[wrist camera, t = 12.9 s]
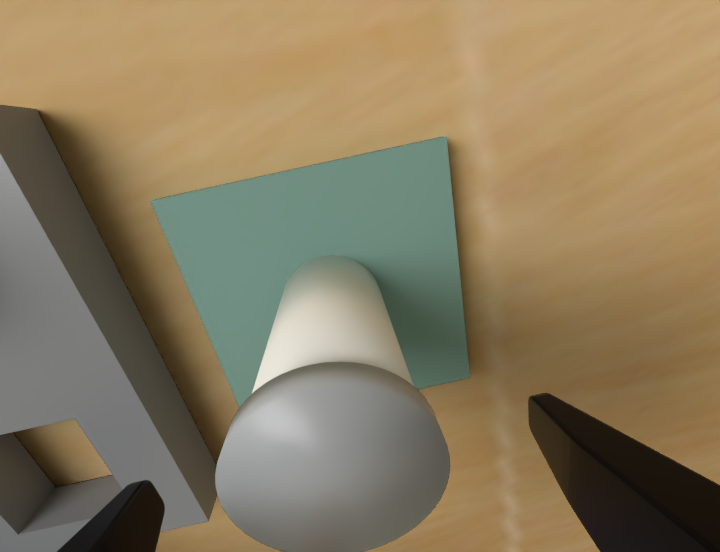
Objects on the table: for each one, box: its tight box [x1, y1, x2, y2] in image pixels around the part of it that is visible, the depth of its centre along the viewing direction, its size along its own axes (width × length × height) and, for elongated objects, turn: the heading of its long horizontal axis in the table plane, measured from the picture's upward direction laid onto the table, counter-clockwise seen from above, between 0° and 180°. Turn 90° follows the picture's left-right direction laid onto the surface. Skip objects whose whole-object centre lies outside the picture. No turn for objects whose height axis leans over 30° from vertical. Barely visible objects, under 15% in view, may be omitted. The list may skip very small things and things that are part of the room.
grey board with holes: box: [0, 105, 217, 552], centre depth 15 cm, size 20×12×2 cm, turn 11°
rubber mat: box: [150, 137, 470, 408], centre depth 16 cm, size 12×12×1 cm
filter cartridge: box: [215, 255, 450, 552], centre depth 11 cm, size 5×5×9 cm
